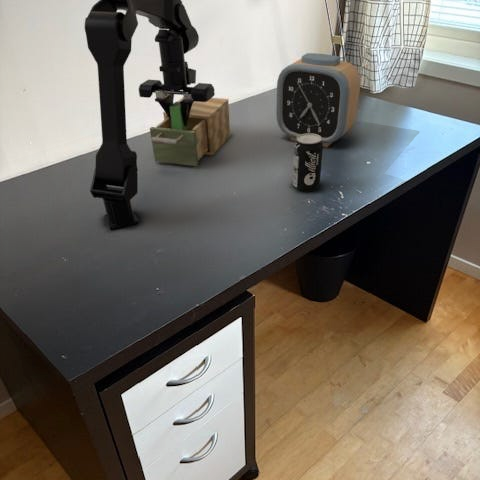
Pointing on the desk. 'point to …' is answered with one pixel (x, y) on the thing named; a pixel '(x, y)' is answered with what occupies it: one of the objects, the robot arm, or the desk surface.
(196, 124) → the drawer
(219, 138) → the cabinet
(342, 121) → the alarm clock
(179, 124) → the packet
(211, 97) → the robot arm
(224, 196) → the desk surface
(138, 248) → the desk surface
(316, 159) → the beverage can
